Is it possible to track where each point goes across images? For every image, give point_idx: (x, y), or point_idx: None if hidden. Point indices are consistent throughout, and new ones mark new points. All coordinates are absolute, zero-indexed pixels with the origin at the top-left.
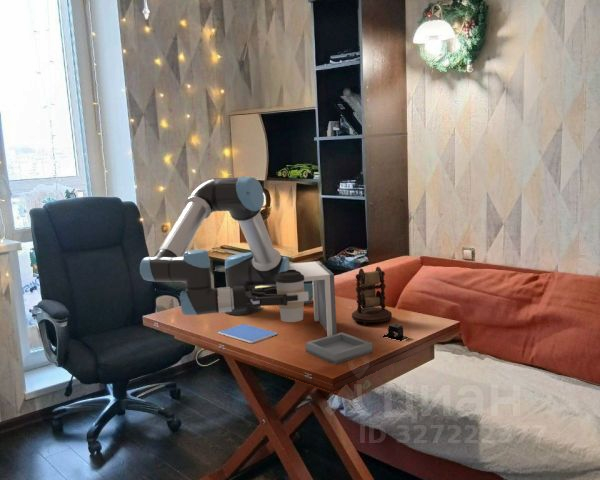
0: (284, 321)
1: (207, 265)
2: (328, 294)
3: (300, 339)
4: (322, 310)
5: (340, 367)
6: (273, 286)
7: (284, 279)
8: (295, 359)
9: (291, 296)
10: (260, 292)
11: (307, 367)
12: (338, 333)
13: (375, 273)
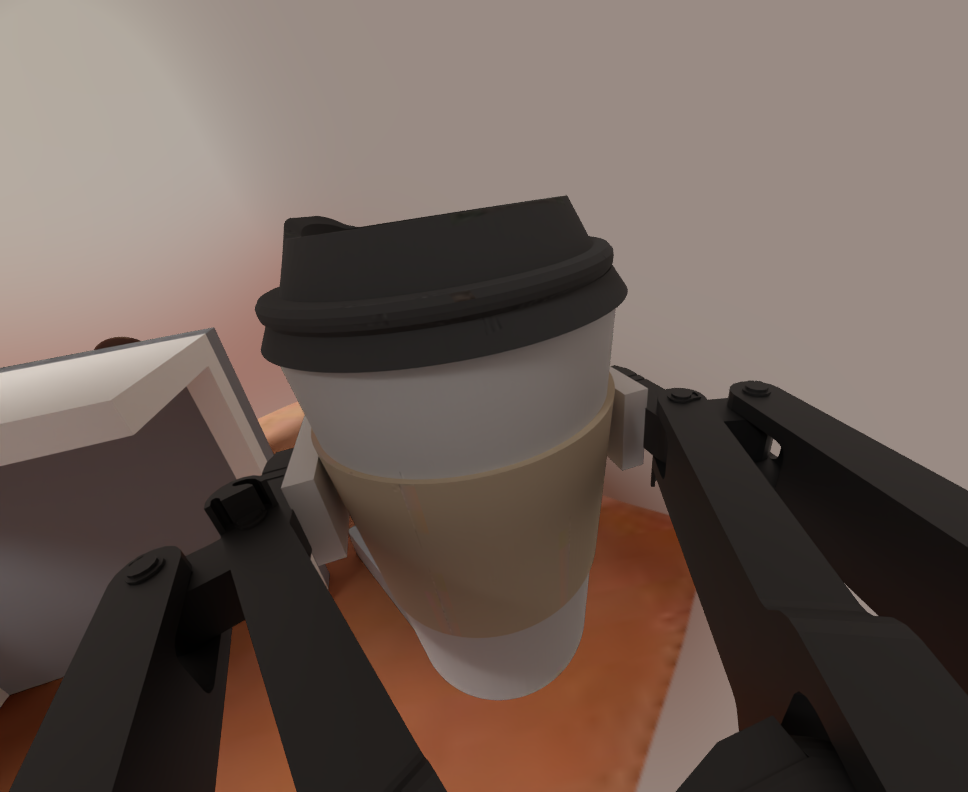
0: (577, 647)
1: None
2: (249, 436)
3: (246, 761)
4: (75, 606)
5: (612, 524)
6: (135, 627)
7: (607, 244)
8: (567, 725)
9: (652, 383)
10: (889, 765)
11: (654, 636)
12: (355, 539)
13: None
